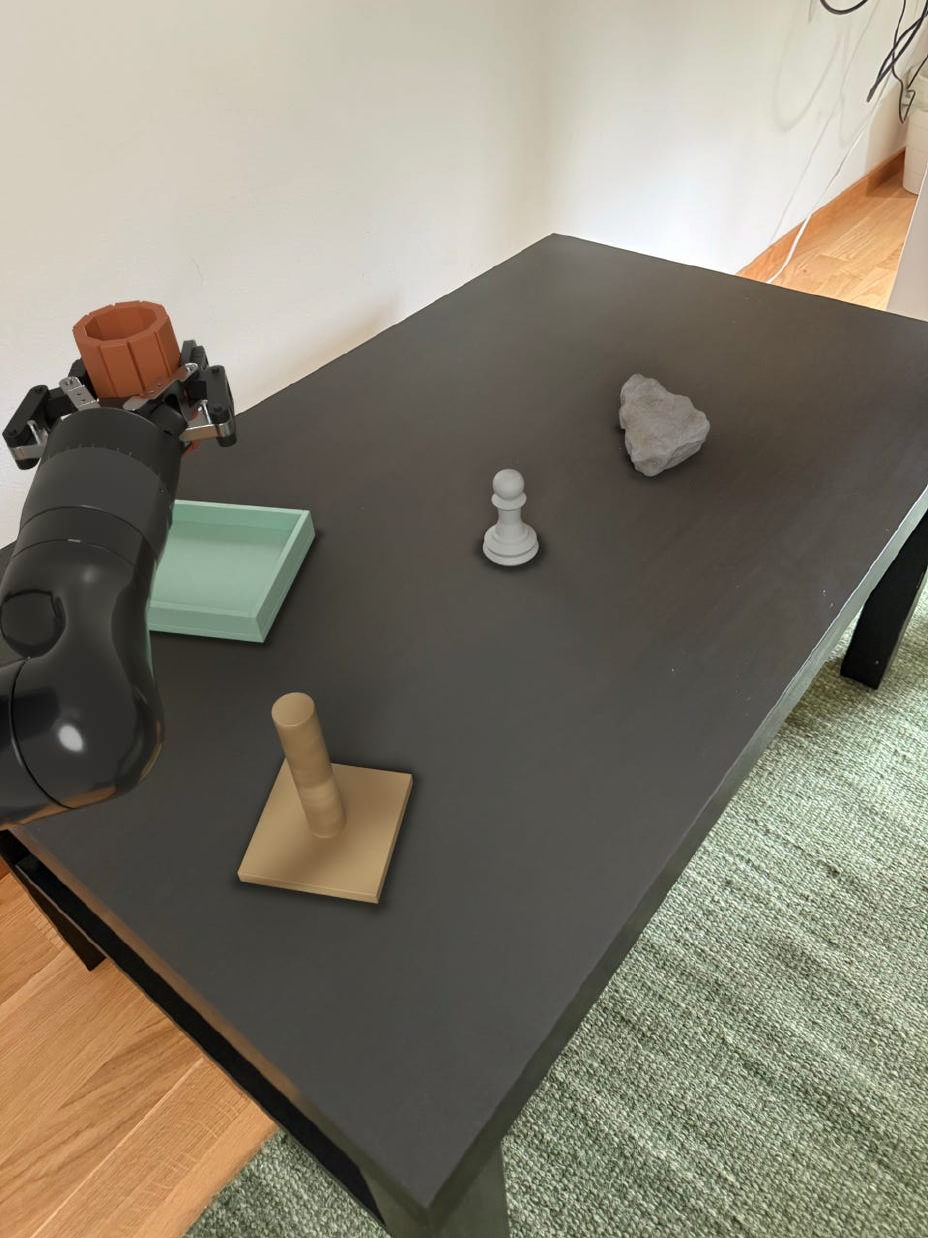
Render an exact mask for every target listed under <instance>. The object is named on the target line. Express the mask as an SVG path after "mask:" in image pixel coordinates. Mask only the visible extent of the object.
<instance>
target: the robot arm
mask: <svg viewBox="0 0 928 1238" xmlns="http://www.w3.org/2000/svg"><path fill="white" fill-rule="evenodd" d="M180 352H181V354H180V359H179V363H178V366H179V369H178V370H176V371H175V372H174V373H173V374H172V375H171V376H170V377H163V376H160V377H159V378H158V379H156V380H155V381H154V382H153V383H152V384H151V385H150V386H149V387H147V388H146V389H145V390H144V391H143V392H142V393H141V394H135V395H131V396H127V397H108V398H100V399H99V400H98V397H97V395H96V392H95V390H94V387H93V385H92V382H91V380H90V377H89V375H88V372H87V369H86V367H85V364H84V362H83V359H82V357H81V356H80V358H77V359H76V360H74V361H73V362H72V364H71V367H70V369H69V372H68V374H67V377H64V378H62V379H60V380H59V381H58V386H57V387H55V388H51V389H49V386H48V385H46V384H38V385H34V386H32V387H31V388H30V389H29V390H28V391H27V392H26V395H25V396H24V398H23V399H22V401H21V402H20V404H19V405H18V407H17V409H16V410H15V412H14V414H13V415H12V416H11V418H10V420H8V423H7V425H6V426H5V427H4V429H3V430H2V432H1V436H2V438H3V440H4V442H5V444H6V446H7V449H8V451H9V452H10V455H11V457H12V459H13V460H14V462H15V464H16V466H17V468H18V470H20V471H29V470H31V469H33V468H35V467H36V466H37V469H36V471H35V472H34V473H35V474H34V476H33V479H32V482H31V484H30V487H29V489H28V492H27V495H26V497H25V500H24V503H23V506H22V510H21V514H20V519H19V527H18V534H17V537H16V539H15V543H14V545H13V548H12V551H11V553H10V556H9V559H8V561H7V564H6V567H5V570H4V573H3V575H2V578H1V580H0V636H1V637H2V639H3V641H4V642H5V643H6V644H7V645H8V647H9V648H10V649H11V650H12V651H13V652H14V653H16V654H17V655H18V656H20V657H21V658H17V659H14V660H11V661H7V662H4V663H1V664H0V831H5V830H9V829H13V828H17V827H21V826H24V825H28V824H31V823H34V822H37V821H40V820H45V819H47V818H48V819H49V818H51V817H56V816H59V815H63V814H67V813H70V812H75V811H77V810H81V809H84V808H89V807H93V806H96V805H100V804H103V803H106V802H110V801H113V800H116V799H119V798H121V797H122V796H125V795H127V794H129V793H131V792H132V791H133V790H135V789H136V788H138V787H139V786H140V785H141V784H142V783H143V782H144V781H145V780H146V779H147V777H148V776H149V775H150V773H151V772H152V771H153V769H154V767H155V766H156V763H158V761H159V758H160V756H161V753H162V751H163V749H164V745H165V741H166V734H167V733H166V732H167V725H166V724H167V723H166V716H165V709H164V705H163V701H162V696H161V693H160V689H159V684H158V680H157V675H156V671H155V664H154V659H153V651H152V646H151V637H150V630H149V628H148V612H149V608H150V603H151V598H152V593H153V588H154V582H155V577H156V572H157V569H158V566H159V564H160V562H161V559H162V557H163V554H164V552H165V548H166V544H167V540H168V534H169V530H170V529H171V526H172V524H173V508H174V502H175V500H176V498H177V493H178V486H179V482H180V476H181V467H182V458H183V457H184V456H183V454H184V453H185V452H186V451H187V450H188V449H189V448H190V447H191V445H192V441H196V440H201V439H203V440H206V439H207V440H208V439H212V438H215V439H216V443H217V445H218V446H219V447H221V448H229V447H232V446H234V445H235V444H236V443H237V441H238V437H237V424H236V412H235V400H234V398H233V393H232V390H231V386H230V383H229V382H230V381H229V379H228V376H227V372H226V368H225V366H223V365H221V364H214V365H211V366H210V362H209V359H208V355H207V353H206V349H205V347H204V346H203V345H198V343H197V341H196V339H195V338H194V339H185V340H183V341H182V346H181V349H180ZM184 389H185V390H186V393H187V395H186V396H185V395H184ZM162 400H163V401H162ZM200 408H201V409H200ZM199 409H200V410H199ZM197 410H199V412H198V414H197V416H196V417H195V418H194V419H192V416H193V414H194V413H195V412H196V411H197ZM62 417H64V418H62ZM182 456H183V457H182Z"/></svg>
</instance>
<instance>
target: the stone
mask: <svg viewBox="0 0 928 1238" xmlns="http://www.w3.org/2000/svg"><path fill="white" fill-rule="evenodd" d="M619 399H620V404H621V406H620V408H619V410H618V417H619V425H620V428H621V429H623V430H624V431H625V434H624V444H625V449H626V451H627V454H628V455H629V456H630V459H631V462H632V463H633V464H634V469H635V470H636V471H638V472H640V473H642V474H643V475H644V476H646V477H654V476H657V475H658V474H660V473H662V472H663V471H664V470H669V469H671V468H674V467H675V466H678V465H679V464H680V463H682V462H684V461H685V460H686V459H688V458H690V457H692V456H693V455H694V454H696V453H697V452H699V450H700V449H701V448H702V444H703V443H704V442H706V440H707V435H708V434H709V432H710V429H711V424H710V421H709V420H708V419H707V416H706V413H705V412H704V411H702V410H699V409H697V408H696V407H694V405H693V403H692V401H691V398H690V397H688V396H687V395H681V394H674V393H672V392H670V391H668V390H666V388H665V387H664V386H663V385H662V384H661V382H659V381H658V380H657V379H654V378H653V377H645V376H644V375H642V374H641V373H634V374H632V375H631V376H630V377H629V379H627V381H626V382H625V383H623V385H622V387H621V392H620V395H619Z"/></svg>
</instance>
